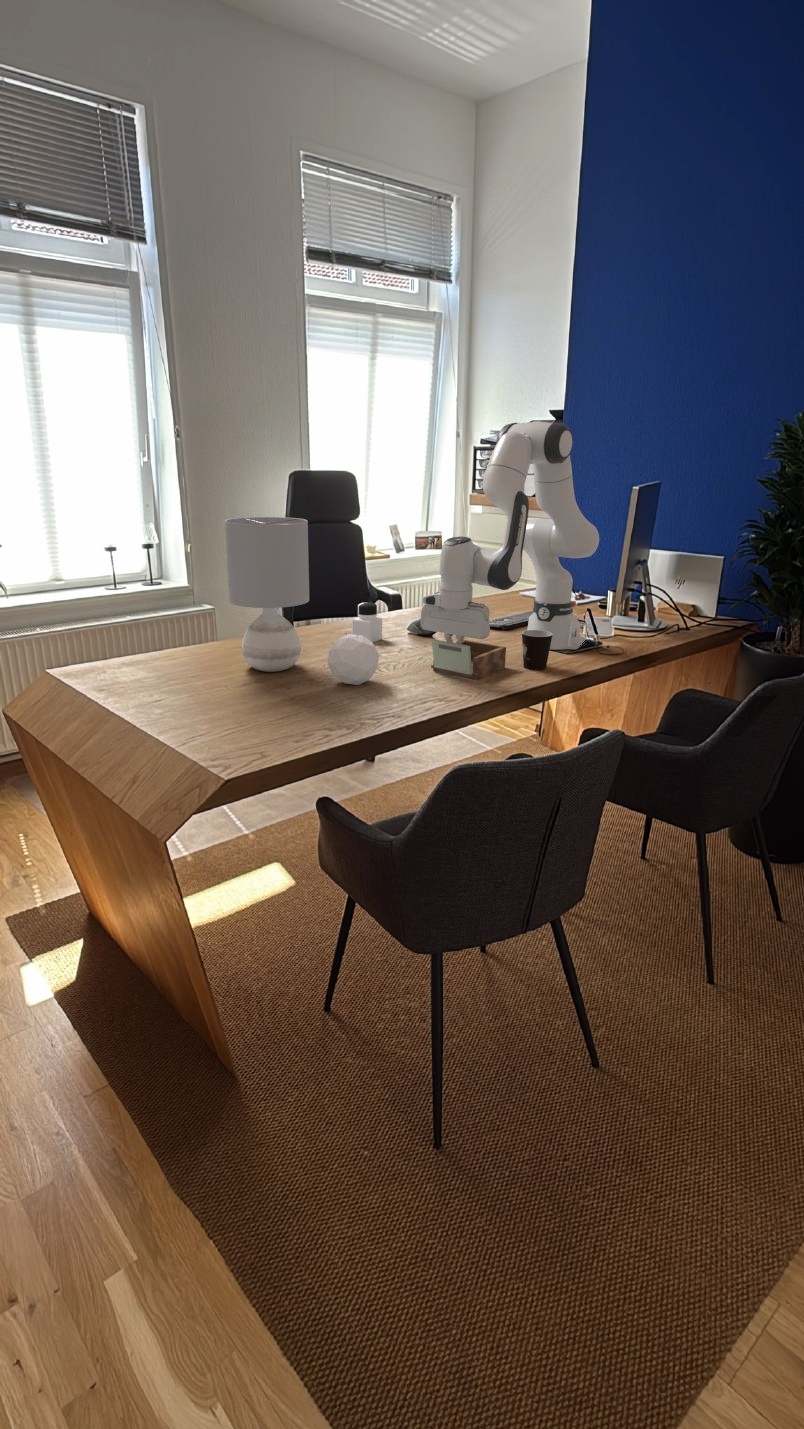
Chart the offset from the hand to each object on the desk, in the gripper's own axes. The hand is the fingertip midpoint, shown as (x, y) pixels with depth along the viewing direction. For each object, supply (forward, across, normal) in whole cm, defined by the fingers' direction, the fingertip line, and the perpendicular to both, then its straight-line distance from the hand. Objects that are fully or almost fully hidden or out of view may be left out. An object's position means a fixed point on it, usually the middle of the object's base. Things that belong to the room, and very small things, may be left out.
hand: (453, 650), depth 213 cm
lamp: (+7, +44, +25) cm, 51 cm away
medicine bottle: (+8, +44, -18) cm, 48 cm away
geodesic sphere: (+7, +17, +22) cm, 29 cm away
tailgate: (+6, 0, 0) cm, 6 cm away
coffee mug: (+8, -13, -24) cm, 28 cm away
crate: (+7, 0, -9) cm, 11 cm away
